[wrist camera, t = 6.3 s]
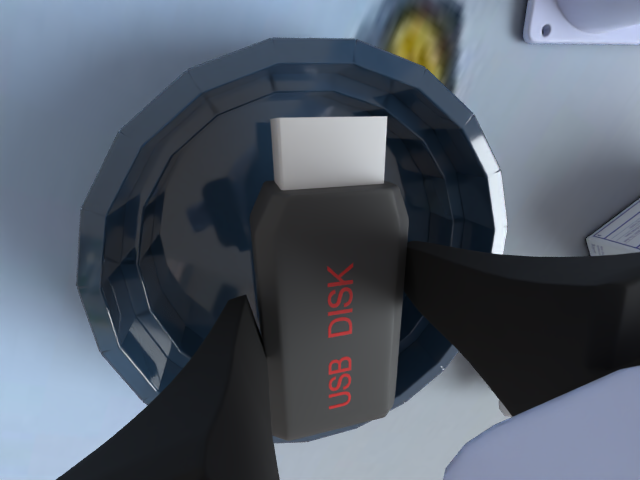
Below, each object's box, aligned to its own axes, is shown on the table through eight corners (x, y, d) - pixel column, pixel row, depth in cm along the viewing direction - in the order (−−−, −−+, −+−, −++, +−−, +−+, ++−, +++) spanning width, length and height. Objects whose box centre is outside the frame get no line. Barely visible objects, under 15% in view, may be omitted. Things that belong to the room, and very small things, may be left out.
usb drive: (267, 404, 14) (274, 463, 12) (239, 120, 10) (241, 117, 8) (374, 380, 15) (401, 429, 13) (387, 117, 11) (431, 115, 9)
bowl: (457, 63, 15) (539, 40, 11) (431, 342, 21) (480, 395, 17) (72, 66, 12) (-15, 33, 8) (166, 401, 17) (146, 486, 13)
